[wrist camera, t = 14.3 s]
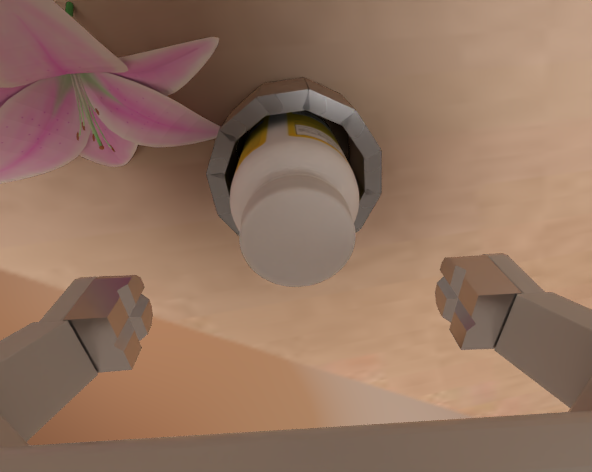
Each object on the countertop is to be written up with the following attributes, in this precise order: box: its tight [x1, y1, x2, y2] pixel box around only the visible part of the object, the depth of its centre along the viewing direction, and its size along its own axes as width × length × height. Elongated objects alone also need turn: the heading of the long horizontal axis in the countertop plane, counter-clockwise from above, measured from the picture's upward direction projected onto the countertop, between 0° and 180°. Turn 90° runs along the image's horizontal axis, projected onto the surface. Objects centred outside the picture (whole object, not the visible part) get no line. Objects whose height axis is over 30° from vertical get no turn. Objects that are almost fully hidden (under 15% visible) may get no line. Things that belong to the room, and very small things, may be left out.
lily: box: [0, 0, 221, 184], centre depth 14 cm, size 12×12×10 cm
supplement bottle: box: [230, 110, 359, 287], centre depth 15 cm, size 5×5×10 cm
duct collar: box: [206, 77, 382, 235], centre depth 18 cm, size 8×8×4 cm
